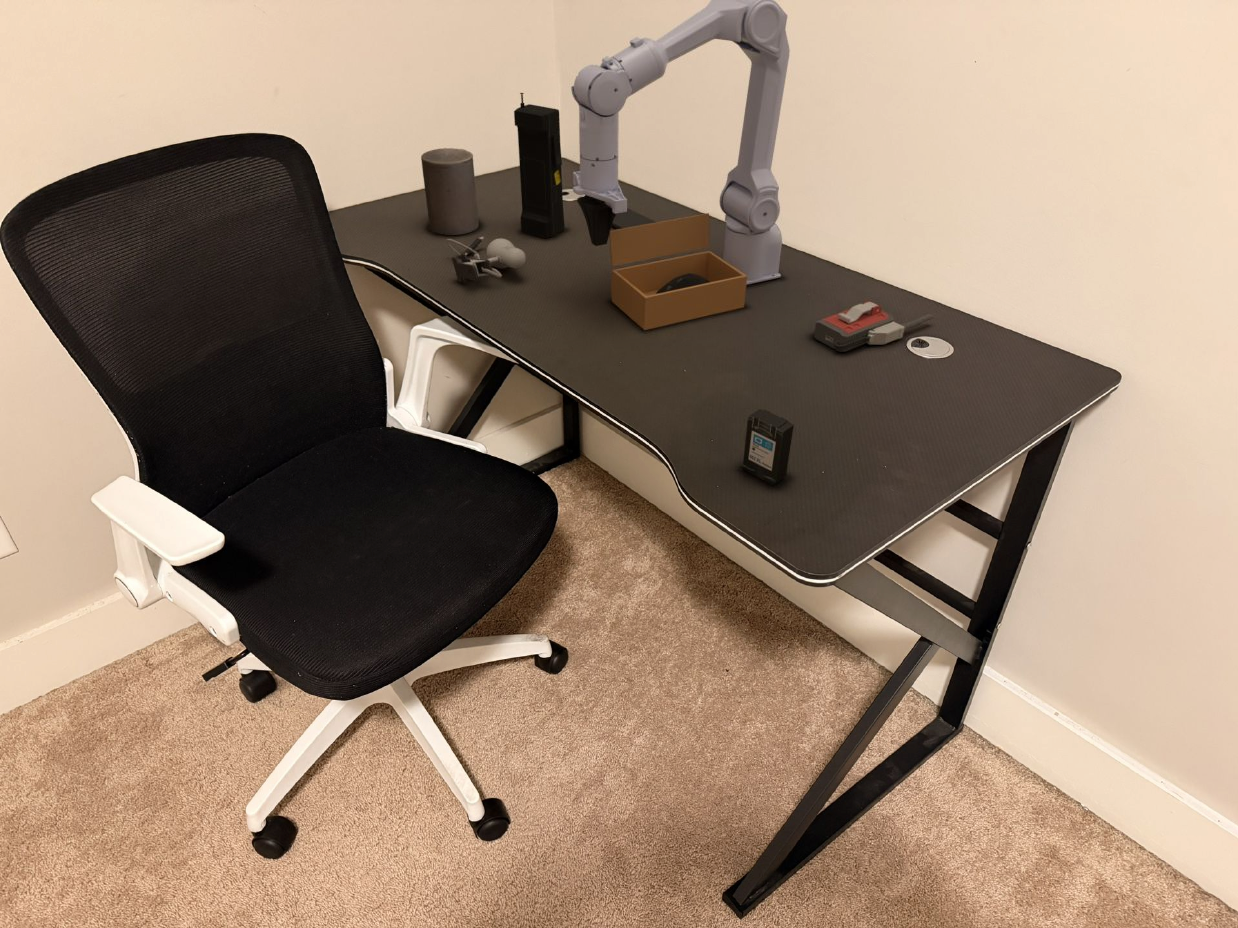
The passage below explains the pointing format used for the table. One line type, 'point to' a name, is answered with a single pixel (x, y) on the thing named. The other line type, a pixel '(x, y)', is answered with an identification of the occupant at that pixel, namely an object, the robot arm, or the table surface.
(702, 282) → the gaming mouse
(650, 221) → the phone
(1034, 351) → the table surface
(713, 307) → the carton
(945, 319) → the table surface
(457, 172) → the pillar candle
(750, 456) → the ink cartridge
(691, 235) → the flap
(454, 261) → the clip-on lamp
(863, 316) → the walkie-talkie
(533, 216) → the portable radio
